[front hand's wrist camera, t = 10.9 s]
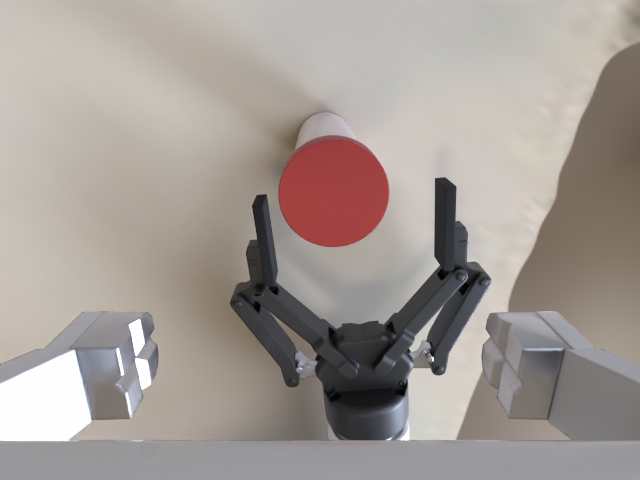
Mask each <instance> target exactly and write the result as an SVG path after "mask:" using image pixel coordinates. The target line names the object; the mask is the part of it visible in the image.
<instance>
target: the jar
mask: <svg viewBox="0 0 640 480" xmlns="http://www.w3.org/2000/svg"><path fill="white" fill-rule="evenodd" d="M326 135H340V136H345V137H349V138H352V139H354V140H356V141H358V140H357V138H356V137H355V135H354V133H353V132H352V130H351V128H350V127H349V125H348V124H347V122H346V121H345V120H344V119H343V118H342V117H340V116H338V115H337V114H334V113H330V112H321V113H317V114H314V115H312V116H311V117H309V118H308V119H307V120H306V121H305V122H304V123H303V125H302V126H301V128H300V130H299V134H298V138H297V142H296V146H295V150H294V152H295V151H296V150H297V149H298V148H299V147H300V146H302V145H303V144H305V143H306V142H308V141H310V140H312V139H315V138H318V137H321V136H326ZM358 142H359V141H358Z"/></svg>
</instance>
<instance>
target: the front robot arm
mask: <svg viewBox="0 0 640 480" xmlns="http://www.w3.org/2000/svg"><path fill="white" fill-rule="evenodd" d="M153 330H154V324H153V319H152V316H151V315H150V314H149V313H148V312H106V311H96V312H82V313H81V314H80V315H79V316H78V317H77V318H76V319H75V320H74V321H73V322H72V323H71V324H70V325H68V326H67V327H66V328H65V329H64V330H63V331H62V332H61V333H60V334H59V335H58V336H57V337H56V338H55V339H54V340H53V341H52V342H51V343H50V344H48V345H47V346H46V347H45V348H44V349H36V350H33V351H31V352H29V353H26V354H24V355H22V356H19V357H17V358H14V359H12V360H10V361H7V362H5V363H3V364H0V480H640V364H637V363H635V362H633V361H630V360H628V359H625V358H623V357H621V356H618V355H616V354H614V353H611V352H609V351H607V350H604V349H596V348H595V347H594V346H593V345H592V344H590V343H589V342H588V341H587V340H586V339H585V338H584V337H583V336H582V335H581V334H580V333H579V332H578V331H577V330H576V329H575V328H574V327H573V326H572V325H571V324H569V323H568V322H567V321H566V320H565V319H564V318H563V317H562V316H561V315H560V314H559V313H557V312H554V311H545V312H504V313H490V314H489V317H488V319H487V323H486V330H487V332H488V333H489V335H490V336H491V337H490V338H489V339H488V340H487V341H486V342H485V343H484V344H483V349H482V367H483V371H484V374H485V377H486V379H487V381H488V383H489V384H490V385H492V386H493V387H495V388H496V389H498V394H497V399H498V400H499V402H500V404H501V406H502V407H503V409H504V411H505V413H506V414H507V416H508V418H509V419H532V420H548V422H549V423H550V424H552V425H553V426H554V427H556V428H557V429H558V430H560V431H561V432H562V433H563V434H565V435H566V436H568V437H569V438H570V439H571V440H69V439H70V438H71V437H73V436H74V435H75V434H77V433H78V432H79V431H81V430H82V429H83V428H85V427H86V426H87V425H88V424H90V423H91V422H92V420H108V419H131V418H132V416H133V415H134V413H135V411H136V409H137V407H138V406H139V404H140V402H141V400H142V399H143V393H142V389H144V388H145V387H147V386H148V385H150V384H151V383H152V381H153V379H154V377H155V375H156V370H157V366H158V348H157V344H156V343H155V342H154V341H153V340H152V339H151V338H150V337H149V336H150V335H151V333H152V332H153Z"/></svg>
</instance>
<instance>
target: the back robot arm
mask: <svg viewBox="0 0 640 480" xmlns="http://www.w3.org/2000/svg"><path fill="white" fill-rule="evenodd" d="M252 208H253V214H254V221H255V227H256V233H257V240H250V242H249V245H248V247H247V251H246V257H247V262H248V268H249V274H250V279H251V280H250V281H248V282H246V283H244V282H241V283H238V284H237V285H236V288H235V290H234V293H233V296H232V299H231V301H230V305H231V307H232V308H233V309H234V311H235V312H236V313H237V314H238V316H239V317H240V318H241V319H242V320H243V322H244V323H245V324H246V325H247V327H248V328H249V329H250V330H251V332H252V333H253V334H254V335H255V336H256V338H257V339H258V340H259V341H260V343H261V344H262V345H263V346H264V348H265V349H266V350H267V351H268V352H269V354H270V355H271V356H272V357H273V359H274V360H275V361H276V362H277V364H278V365H279V366H280V367H281V370H282V374H283V377H284V380H285V383H286V385H287V386H289V387H296V386H297V385H298V384H299V379H301V378H307V377H313V376H317V377H318V378H319V379H320V381H321V382H322V385H323V393H324V402H325V410H326V417H327V429H328V437H329V440H409V420H408V413H409V412H408V376H409V374H410V372H411V370H412V369H413V368H431V370H432V372H433V374H435V375H442V374H444V373H445V371H446V368H447V362H448V356H449V352H450V351H451V349H452V347H453V346H454V344H455V342H456V341H457V339H458V337H459V336H460V334H461V332H462V331H463V329H464V327H465V326H466V324H467V322H468V321H469V319H470V317H471V316H472V314H473V312H474V311H475V309H476V308H477V306H478V304H479V303H480V301H481V299H482V298H483V296H484V294H485V293H486V291H487V289H488V288H489V286H490V284H491V278H490V277H489V275H488V274H487V273H486V272H485V271H484V270H483V268H482V267H481V266H480V265H479V264H478V263H477V262H470V263H469V262H467V240H468V233H467V230H466V228H465V227H464V225H463V224H462V223H461V222H460V221H455V214H456V186H455V185H454V184H453V183H451V182H450V181H449V180H448V179H446V178H445V177H444V178H435V252H434V256H435V258H436V259H437V261H438V263H439V264H440V266H439V267H438V268H437V269H436V271H435V272H434V273H433V274H432V275H431V276H430V277H429V278H428V280H427V281H426V282H425V283H424V284H423V285H422V286H421V288H420V289H419V290H418V291H417V292H416V293H415V294H414V295H413V297H412V298H411V299H410V300H409V301H408V302H407V303H406V305H405V306H404V307H403V308H402V309H401V310H400V311H399V312H398V313H394V314H393V315H392V316H391V317H390V318H389V320H388V321H387V322H386V323H385V324H384V325H383V324H379V323H378V321H370V322H366V323H363V324H353V323H347V324H342V327H340V328H338V329H335V328H334V327H333V326H332V325H331V324H329V323H328V322H327V321H326V320H324V319H320V318H319V317H317V316H316V315H315V314H314V313H313V312H311V311H310V310H309V309H308V308H307V307H305V306H304V305H303V304H302V303H301V302H299V301H298V300H297V299H296V298H294V297H293V296H292V295H291V294H290V293H288V292H287V291H286V290H285V289H284V288H282V287H281V286H280V285H279V284H278V283H276V277H277V272H278V269H277V262H276V255H275V248H274V241H273V235H272V228H271V221H270V214H269V207H268V200H267V194H264V195H257V196H256V198H255V200H254V203H253V205H252ZM443 305H444V306H443ZM442 306H443V308H442V309H441V311H440V313H439V315H438V317H437V318H436V320H435V322H434V324H433V325H432V327H431V329H430V331H429V333H428V336H427V341H426V340H423V341H421V345H420V347H419V349H418V350H417V351H415V352H410V350H409V347H410V346H411V345H412V344H413V342H414V338H415V336H416V334H417V333H418V332H419V331H420V330H421V329H422V328H423V327H424V326H425V325H426V324H427V322H428V321H429V320H430V319H431V318H432V317H433V316H434V315H435V314H436V313H437V312H438V311H439V309H440V308H441V307H442ZM269 311H270V312H271V313H272V314H273V315H275V316H276V317H277V318H278V319H280V320H281V321H282V322H283V323H285V324H286V325H287V326H288V327H290V328H291V329H292V330H293V331H295V332H296V333H297V334H298V335H300V336H301V337H302V338H303V339H305V340H306V341H307V342H308V343H310V344H311V346H312V347H313V349H314V351H315V352H316V353H317V354H318V355H317V356H316V358H315V360H309V359H308V358H307V357H306V356H305V355H304V354H303V352H302V351H297V350H296V347H295V346H294V344H293V342H292V341H291V339H290V338H289V337H288V335H287V334H286V333H285V332H284V330H283V329H282V328H281V326H280V325H279V324H278V322H277V321H276V320H275V319H274V317H273V316H272V315H271V313H270V312H269Z"/></svg>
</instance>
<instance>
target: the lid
mask: <svg viewBox="0 0 640 480" xmlns="http://www.w3.org/2000/svg"><path fill="white" fill-rule="evenodd" d="M388 201H389V185H388V180H387V176H386V174H385V171H384V169H383V167H382V166H381V164H380V162H379V161H378V160H377V158H376V157H375V155H374V154H373V153H372V152H371V151H370V150H369V149H368V148H367V147H366V146H365V145H363V144H362V143H360V142H358V141H356V140H354V139H352V138H349V137H345V136H340V135H326V136H321V137H318V138H315V139H312V140H310V141H308V142H306V143H305V144H303V145H302V146H300V147H299V148H298V149H297V150H296V151H295V152H294V153H293V154H292V156H291V157H290V158H289V160H288V161H287V163H286V166H285V168H284V171H283V174H282V177H281V180H280V185H279V204H280V208H281V211H282V214H283V216H284V218H285V220H286V222H287V223H288V225H289V226H290V227H291V228H292V229H293V231H294V232H295V233H297V234H298V235H299V236H300V237H302V238H303V239H305V240H307V241H309V242H311V243H313V244H317V245H320V246H326V247H340V246H346V245H349V244H353V243H355V242H357V241H359V240H361V239H363V238H364V237H366V236H367V235H369V234H370V233H371V232H372V231H373V230H374V229H375V228H376V227H377V226H378V224H379V223H380V221H381V220H382V218H383V216H384V214H385V212H386V209H387V205H388Z"/></svg>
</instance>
